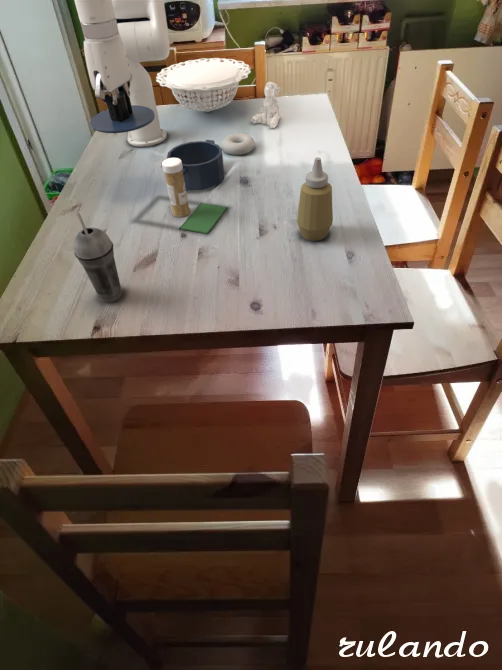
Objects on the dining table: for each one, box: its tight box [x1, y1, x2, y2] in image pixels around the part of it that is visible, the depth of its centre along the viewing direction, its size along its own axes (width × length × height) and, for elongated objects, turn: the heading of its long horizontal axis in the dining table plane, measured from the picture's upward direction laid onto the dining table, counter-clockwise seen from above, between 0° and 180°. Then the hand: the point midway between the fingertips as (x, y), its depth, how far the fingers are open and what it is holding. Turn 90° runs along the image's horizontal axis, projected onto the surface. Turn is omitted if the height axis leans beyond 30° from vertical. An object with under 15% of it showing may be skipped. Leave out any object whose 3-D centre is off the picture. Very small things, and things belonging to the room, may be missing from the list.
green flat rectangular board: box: [178, 202, 228, 235], centre depth 115 cm, size 20×12×1 cm, turn 69°
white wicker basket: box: [155, 57, 252, 113], centre depth 157 cm, size 32×32×13 cm
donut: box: [221, 132, 256, 156], centre depth 138 cm, size 10×4×10 cm
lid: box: [90, 92, 155, 134], centre depth 111 cm, size 16×16×6 cm
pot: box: [166, 139, 226, 192], centre depth 125 cm, size 15×20×7 cm
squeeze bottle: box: [296, 156, 334, 242], centre depth 100 cm, size 8×8×18 cm
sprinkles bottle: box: [161, 158, 191, 218], centre depth 111 cm, size 5×5×13 cm
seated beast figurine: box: [251, 81, 282, 129], centre depth 149 cm, size 10×9×12 cm
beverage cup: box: [73, 211, 123, 303], centre depth 88 cm, size 7×7×20 cm
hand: (122, 116), depth 113 cm, fingers closed on lid, 3 cm apart
